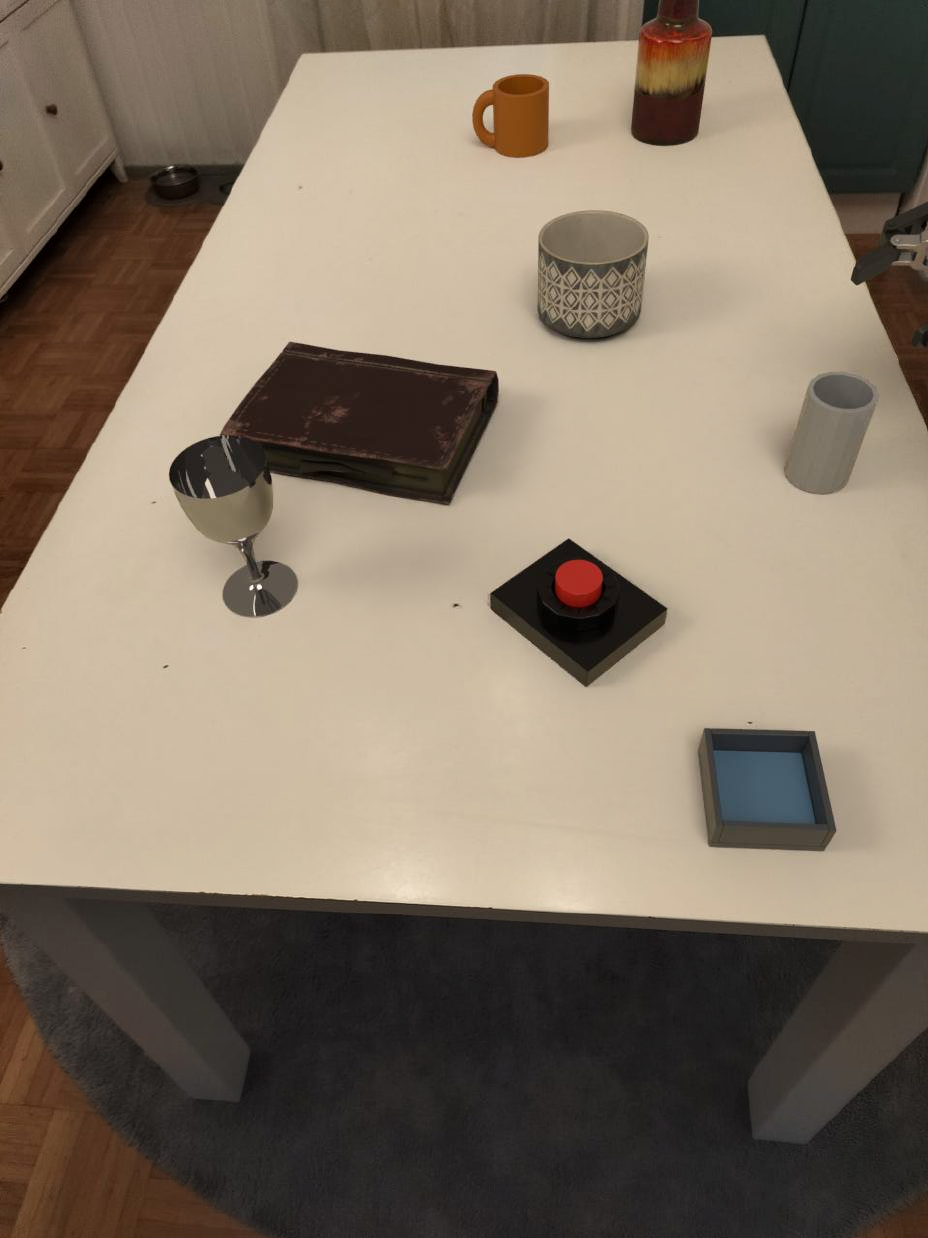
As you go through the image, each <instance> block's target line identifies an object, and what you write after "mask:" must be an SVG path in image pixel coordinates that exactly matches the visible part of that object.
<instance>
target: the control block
mask: <svg viewBox="0 0 928 1238" xmlns="http://www.w3.org/2000/svg"><path fill="white" fill-rule="evenodd" d="M572 560H585V561H589V562H591V563H593V564H595V565H596V566H597V567H598V568H599V569H600V570H601V572H602V575H603V582H602V592H601V596H600V598H599V599H598V600H597V601H596V602H595V603H593V604H592V605H589V606H586V607H573V606H568V605H566V604H564V603H563V602H561V601H560V600H559V599H558V597H557V595H556V593H555V577H556V572H557V570H558V568H559V567H560V566H561V565H562V564H564V563H566V562H568V561H572ZM489 603H490V605H489V606H490V610H491V611H492V612H494V613H495V614H496V615H498V617H500V618H501V619H502V620H503V621H505V623H507V624H508V626H510V627H512V628H513V629H514V630H516V631H517V632H518V633H519V634H520V635H522V636H523V637H524V638H525V639H526V640H528V641H529V642H531V644H532V645H534V646H535V647H536V648H537V649H539V650H540V651H541V652H542V653H544V654H545V655H546V656H547V657H548V658H550V659H551V660H552V661H553V662H554V663H556V664H557V665H558V666H559V667H561V668H562V669H563V670H564V671H565V672H567V674H569V675H570V676H572V677H573V678H574V679H575V680H577V681H578V682H579V683H580V684H581V685H583V686H584V687H586V688H587V687H589V686H590V685H591V684H592V683H594V682H595V681H596V680H597V679H599V678H600V677H601V676H602V675H603V674H605V673H606V672H607V671H608V670H610V669H611V668H612V667H614V666H615V665H616V664H617V663H618V662H620V661H621V660H622V659H623V658H624V657H626V656H627V655H628V654H630V653H631V652H632V651H634V650H635V649H636V648H637V647H638V646H640V645H641V644H642V643H644V642H645V640H647V639H648V638H650V637H651V636H652V635H653V634H654V633H656V632H657V631H658V630H659V629H660V628H662V627H663V626H665V624H666V619H667V613H668V607H667V606H665V605H664V604H662V603H661V602H659V601H658V600H657V599H655V598H654V597H652V596H651V595H650V594H648V593H647V592H646V591H644V590H643V589H641V588H640V587H638V586H637V585H635V584H634V583H633V582H631V581H630V580H629V579H627V578H626V577H624V576H623V575H622V574H620V573H618V572H617V571H616V570H615V569H613V568H612V567H610V566H609V565H607V564H606V563H605V562H603V561H602V560H600V559H599V558H598V557H597V556H594V555H593V554H592V553H590V552H589V551H588V550H587V549H585V548H584V547H582V546H580V545H579V544H578V543H576V542H575V541H574V540H572V539H571V538H567V539H565V540H563V542H561V543H560V544H558V545H557V546H555V547H554V548H553V549H551V550H549V551H548V552H547V553H545V554H543V556H541V557H540V558H537V560H535V561H534V562H533V563H531V564H530V565H528V566H527V567H525V568H524V569H523V570H521V571H519V572H518V573H517V574H515V575H514V576H513V577H511V578H509V579H508V580H507V581H505V582H504V583H503V584H501V585H500V586H498V587H497V588H495V589H494V590H493V591H491V592H490V593H489Z"/></svg>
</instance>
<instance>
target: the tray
mask: <svg viewBox="0 0 928 1238" xmlns="http://www.w3.org/2000/svg"><path fill="white" fill-rule="evenodd" d="M697 756H698V764H699V772H700V781H701V789H702V798H703V806H704V814H705V824H706V832H707V833H706V834H707V841H708V842H707V843H708V847H709V848H731V849H756V850H780V851H781V850H783V851H807V852H809V851H810V852H825V851H826V850H827V847H828V846H829V844H830V843H831V841H832V840H833V837H834V836H835V834H836V832H837V826H836V821H835V817H834V813H833V808H832V804H831V799H830V794H829V790H828V785H827V781H826V776H825V772H824V768H823V763H822V757H821V753H820V749H819V743H818V739H817V735H816V731H815V730H793V729H792V730H789V729H756V728H755V729H754V728H753V729H752V728H720V727H719V728H718V727H717V728H714V727H711V728H710V727H704V728H703V731H702V736H701V739H700V741H699V745H698V750H697Z"/></svg>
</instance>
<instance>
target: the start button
mask: <svg viewBox="0 0 928 1238" xmlns="http://www.w3.org/2000/svg"><path fill="white" fill-rule="evenodd" d="M602 582H603V575H602V572H601V570H600V569H599V568H598V567H597V566H596V565H595V564H593V563H591V562H589V561H585V560H572V561H568V562H566V563H564V564H562V565H561V566H560V567H559V568H558V570H557V572H556V577H555V593H556V595H557V597H558V599H559V600H560V601H561V602H563V603H564V604H566V605H568V606H573V607H586V606H589V605H592V604H593V603H595V602H596V601H597V600H598V599H599V598H600V596H601V592H602Z"/></svg>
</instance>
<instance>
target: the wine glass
mask: <svg viewBox="0 0 928 1238" xmlns="http://www.w3.org/2000/svg"><path fill="white" fill-rule="evenodd" d="M168 480H169V482H170V485H171V488H172V490H173V493H174V495H175V498H176V499H177V502H178V504H179V506H180V508H181V510H182V511H183V512H184V514H185V516H186V517H187V519H188V520H189V522H191V524H192V525H193V526H194V528H195V529H196V530H197V531H198V532H199V533H200V534H201V535H203V536H204V537H205V538H207V539H209V540H211V541H213V542H216V543H218V544H221V545H228V546H231V547H234V548H235V549H237V550H238V552H239V553H240V555H241V556H242V558H243V560H244V561H245V563H246V565H244V566H242V567H240V568H238V569H236V571H234V572H233V573H232V574H231V575H230V576H229V577H228V578H227V580H226V582H225V583H224V585H223V588H222V594H221V595H222V600H223V603H224V604H225V607H226V608H227V609H228V610H230V611H231V612H232V613H234V614H235V615H238V616H241V617H245V618H246V617H247V618H260V617H265V616H269V615H271V614H274V613H276V612H278V611H280V610H282V609H283V608H284V607H286V606H287V605H288V604H289V603H290V602H291V601H292V600H293V598H294V597H295V595H296V593H297V590H298V586H299V585H298V583H299V582H298V577H297V575H296V572H294V570H293V569H292V568H291V567H290V566H288V565H287V564H284V563H283V562H279V561H273V560H259V561H256V556H255V548H254V545H255V540H256V539H257V538H258V537H259V535H260V534H262V532H263V531H264V530H265V529H266V527H267V526H268V524H269V522H270V520H271V518H272V515H273V510H274V485H273V483H274V482H273V479H272V474H271V471H270V469H269V465H268V461H267V458H266V455H265V452H264V451H263V449H262V447H261V446H260V445H259V444H258V443H256V442H255V441H253V440H251V439H249V438H246V437H242V436H235V435H223V436H220V435H216V436H211V437H207V438H204V439H202V440H199V441H197V442H195V443H192V444H190V445H189V446H187V447H186V448H185V449H183V450H182V451H180V452H179V454H178V455H176V456H175V458H174V459H173V461H172V462H171V464H170V467H169V471H168Z"/></svg>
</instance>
